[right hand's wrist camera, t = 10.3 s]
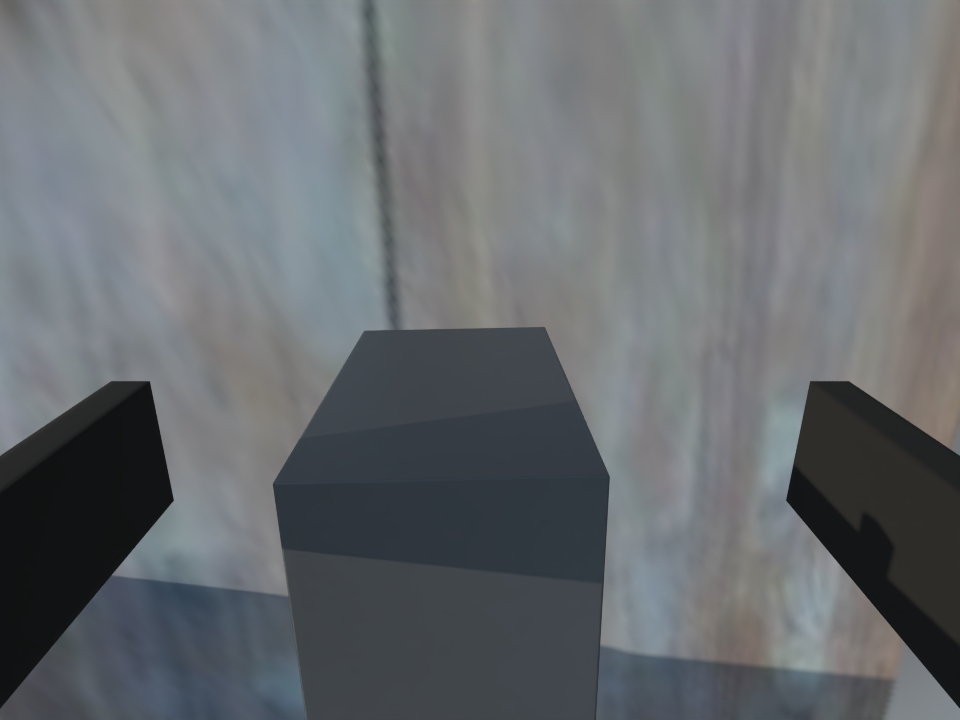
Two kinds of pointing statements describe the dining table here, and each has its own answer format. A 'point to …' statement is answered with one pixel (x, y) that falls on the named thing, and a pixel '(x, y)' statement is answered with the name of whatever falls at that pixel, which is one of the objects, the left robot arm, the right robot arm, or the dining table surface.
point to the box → (446, 533)
